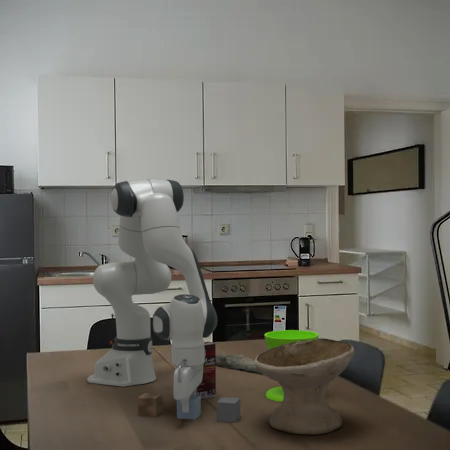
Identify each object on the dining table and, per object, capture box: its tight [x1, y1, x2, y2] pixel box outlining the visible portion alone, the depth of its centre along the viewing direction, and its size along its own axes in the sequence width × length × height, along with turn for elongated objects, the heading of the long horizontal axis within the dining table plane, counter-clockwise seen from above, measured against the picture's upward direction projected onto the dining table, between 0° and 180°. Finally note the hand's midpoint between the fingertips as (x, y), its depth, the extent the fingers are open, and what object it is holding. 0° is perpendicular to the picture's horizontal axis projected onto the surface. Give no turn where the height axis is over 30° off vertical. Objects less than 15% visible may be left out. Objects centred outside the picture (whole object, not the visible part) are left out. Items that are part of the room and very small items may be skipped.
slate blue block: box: [176, 395, 202, 421], centre depth 178 cm, size 5×5×5 cm
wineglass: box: [263, 329, 320, 403], centre depth 197 cm, size 16×16×18 cm
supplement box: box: [196, 341, 217, 400], centre depth 197 cm, size 9×5×16 cm, turn 120°
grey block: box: [216, 396, 241, 423], centre depth 175 cm, size 5×5×5 cm
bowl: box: [254, 337, 355, 436], centre depth 169 cm, size 26×25×20 cm
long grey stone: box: [216, 352, 265, 376], centre depth 235 cm, size 35×5×10 cm
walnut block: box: [137, 392, 164, 418], centre depth 181 cm, size 5×5×5 cm
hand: (188, 408), depth 178 cm, fingers closed on slate blue block, 5 cm apart
